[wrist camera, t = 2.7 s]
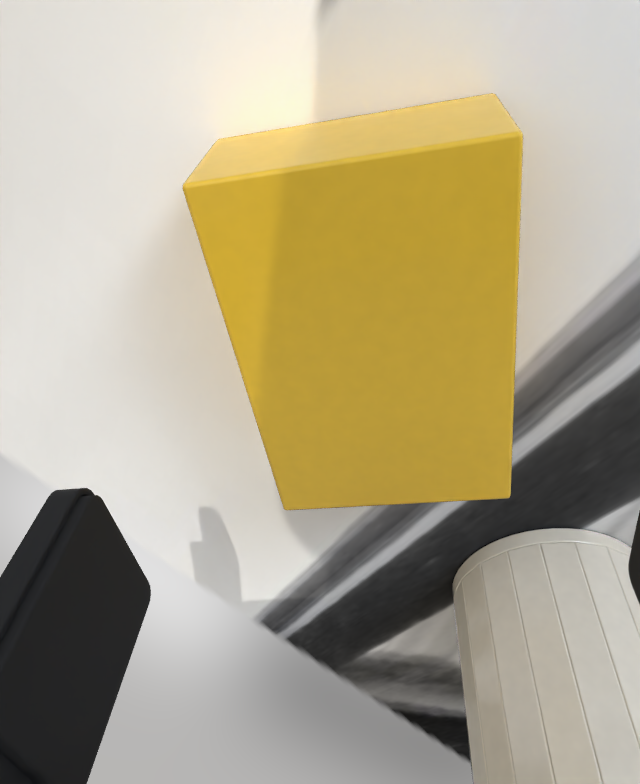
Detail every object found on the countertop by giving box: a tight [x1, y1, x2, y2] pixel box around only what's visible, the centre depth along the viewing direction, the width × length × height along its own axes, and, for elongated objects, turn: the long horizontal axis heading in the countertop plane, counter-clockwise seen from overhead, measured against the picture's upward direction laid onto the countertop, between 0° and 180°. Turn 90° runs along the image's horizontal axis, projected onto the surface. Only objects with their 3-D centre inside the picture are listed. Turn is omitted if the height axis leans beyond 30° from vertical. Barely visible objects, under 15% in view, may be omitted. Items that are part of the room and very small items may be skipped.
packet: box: [183, 93, 523, 510], centre depth 14 cm, size 9×6×3 cm, turn 10°
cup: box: [452, 528, 640, 784], centre depth 19 cm, size 7×7×9 cm
